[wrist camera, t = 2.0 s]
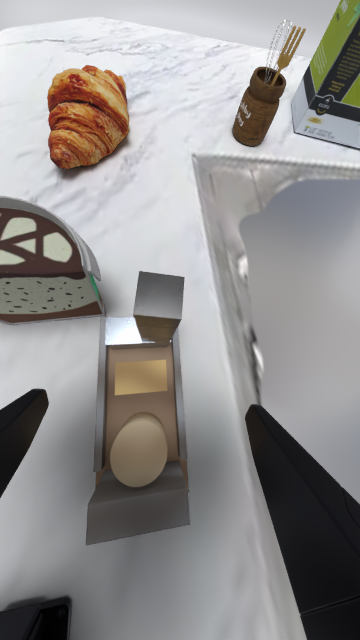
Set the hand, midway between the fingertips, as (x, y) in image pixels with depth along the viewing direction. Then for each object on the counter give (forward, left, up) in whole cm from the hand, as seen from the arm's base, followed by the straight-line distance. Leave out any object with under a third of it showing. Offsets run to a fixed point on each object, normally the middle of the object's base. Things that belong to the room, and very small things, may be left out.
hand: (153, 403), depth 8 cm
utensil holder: (+41, -18, -12) cm, 47 cm away
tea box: (+47, -36, -12) cm, 61 cm away
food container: (+11, +10, -12) cm, 19 cm away
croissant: (+37, +7, -12) cm, 40 cm away
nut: (-4, +1, -11) cm, 11 cm away
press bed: (-1, +1, -12) cm, 12 cm away
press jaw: (+5, +1, -10) cm, 12 cm away
